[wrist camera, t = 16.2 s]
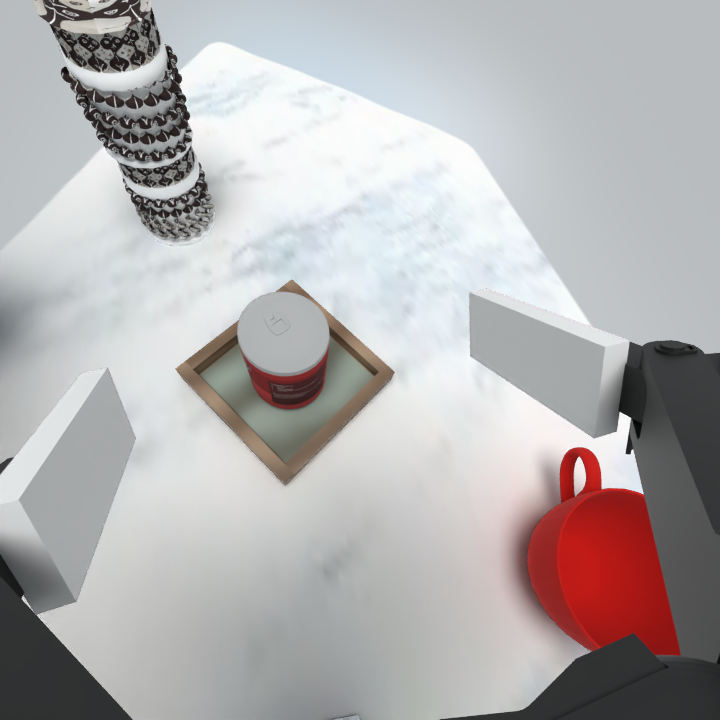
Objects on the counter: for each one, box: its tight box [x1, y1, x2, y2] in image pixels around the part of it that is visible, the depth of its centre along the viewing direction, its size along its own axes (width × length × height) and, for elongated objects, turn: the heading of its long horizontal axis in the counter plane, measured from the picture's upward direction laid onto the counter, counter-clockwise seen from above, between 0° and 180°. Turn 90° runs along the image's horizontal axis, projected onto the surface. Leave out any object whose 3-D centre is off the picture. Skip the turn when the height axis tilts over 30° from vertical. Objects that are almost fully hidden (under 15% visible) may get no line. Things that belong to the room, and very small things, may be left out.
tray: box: [176, 280, 394, 485], centre depth 45 cm, size 16×16×2 cm
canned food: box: [237, 292, 330, 409], centre depth 40 cm, size 8×8×11 cm
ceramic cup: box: [527, 447, 681, 656], centre depth 38 cm, size 13×17×10 cm
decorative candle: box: [34, 0, 215, 246], centre depth 42 cm, size 9×9×25 cm
